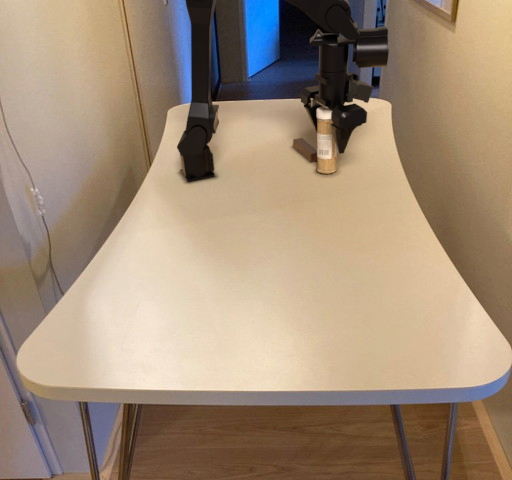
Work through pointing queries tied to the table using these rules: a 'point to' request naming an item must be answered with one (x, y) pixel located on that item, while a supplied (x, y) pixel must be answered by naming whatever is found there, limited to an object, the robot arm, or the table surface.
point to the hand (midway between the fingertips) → (331, 145)
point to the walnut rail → (305, 149)
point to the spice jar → (325, 142)
